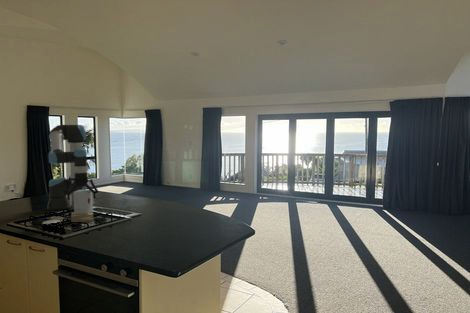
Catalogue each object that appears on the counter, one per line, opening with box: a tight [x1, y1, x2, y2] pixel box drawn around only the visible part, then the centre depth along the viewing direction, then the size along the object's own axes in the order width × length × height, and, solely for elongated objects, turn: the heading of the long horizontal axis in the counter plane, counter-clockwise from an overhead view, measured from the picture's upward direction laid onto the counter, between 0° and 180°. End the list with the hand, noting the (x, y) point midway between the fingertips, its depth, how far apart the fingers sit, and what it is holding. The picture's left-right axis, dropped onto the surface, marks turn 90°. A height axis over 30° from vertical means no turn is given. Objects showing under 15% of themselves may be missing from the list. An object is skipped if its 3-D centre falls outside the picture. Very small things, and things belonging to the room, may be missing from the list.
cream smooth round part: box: [42, 219, 61, 225], centre depth 216 cm, size 10×10×1 cm
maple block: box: [70, 210, 94, 223], centre depth 224 cm, size 13×13×5 cm
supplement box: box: [73, 189, 94, 214], centre depth 225 cm, size 9×9×15 cm
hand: (82, 204), depth 224 cm, fingers open, 13 cm apart
